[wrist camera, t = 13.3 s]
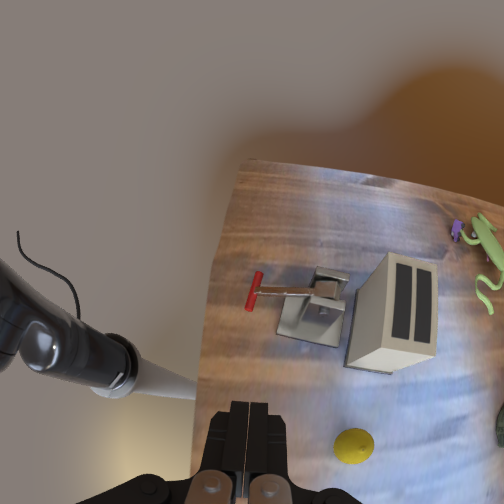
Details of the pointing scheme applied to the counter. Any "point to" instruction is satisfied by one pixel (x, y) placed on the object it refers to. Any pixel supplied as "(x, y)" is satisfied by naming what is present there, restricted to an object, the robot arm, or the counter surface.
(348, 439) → the lemon
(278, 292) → the switch lever
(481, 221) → the figurine
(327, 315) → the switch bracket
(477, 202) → the counter surface
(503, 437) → the pouch
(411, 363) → the toaster
